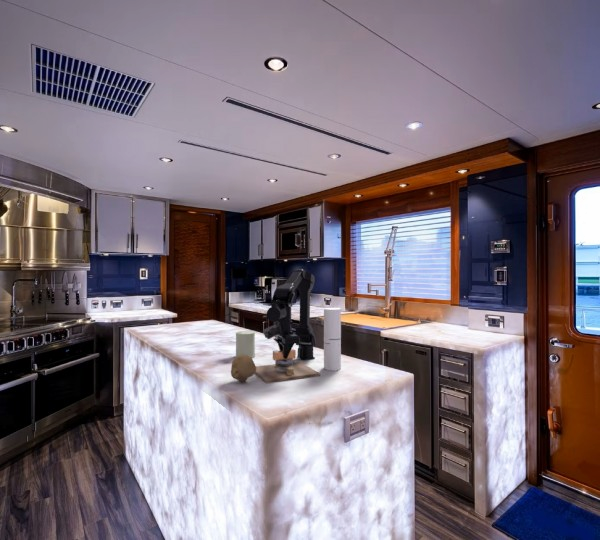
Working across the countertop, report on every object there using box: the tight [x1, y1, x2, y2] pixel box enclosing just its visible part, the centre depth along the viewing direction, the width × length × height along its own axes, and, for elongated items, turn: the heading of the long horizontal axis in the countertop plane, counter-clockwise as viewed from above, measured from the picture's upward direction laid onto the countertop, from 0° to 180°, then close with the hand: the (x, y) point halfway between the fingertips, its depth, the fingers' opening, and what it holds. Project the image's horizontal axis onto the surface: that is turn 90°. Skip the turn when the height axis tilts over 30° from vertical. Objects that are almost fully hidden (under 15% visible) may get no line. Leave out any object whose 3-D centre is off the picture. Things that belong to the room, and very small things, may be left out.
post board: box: [254, 361, 321, 384], centre depth 143 cm, size 22×20×3 cm
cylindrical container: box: [323, 307, 342, 371], centre depth 150 cm, size 7×7×25 cm
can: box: [235, 330, 256, 359], centre depth 171 cm, size 9×9×12 cm
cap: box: [272, 348, 297, 367], centre depth 143 cm, size 9×7×6 cm
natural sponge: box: [230, 354, 257, 383], centre depth 131 cm, size 9×9×10 cm
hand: (284, 357), depth 143 cm, fingers open, 3 cm apart
